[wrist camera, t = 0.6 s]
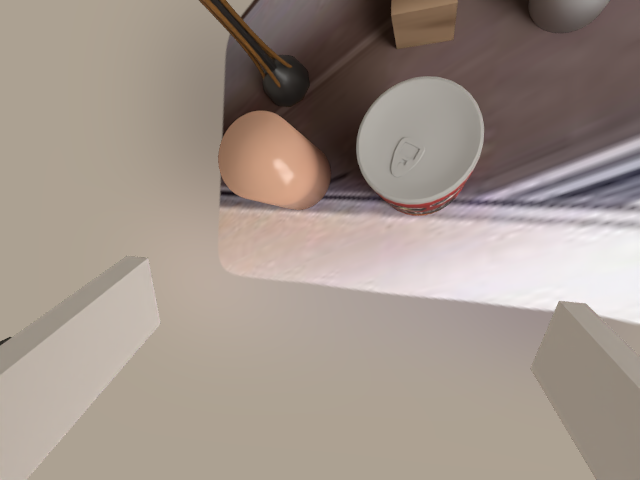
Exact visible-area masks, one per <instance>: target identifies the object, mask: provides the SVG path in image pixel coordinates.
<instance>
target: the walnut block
mask: <svg viewBox="0 0 640 480" xmlns="http://www.w3.org/2000/svg"><path fill="white" fill-rule="evenodd" d="M457 4H458V0H391V17H392V23H393V29H394V35H395V41H396V47H397V49H400V48H407V47H413V46H419V45H425V44H431V43H437V42H444V41H450V40H453V38H454V29H455V21H456V12H457Z"/></svg>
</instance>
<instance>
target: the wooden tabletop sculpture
mask: <svg viewBox="0 0 640 480" xmlns="http://www.w3.org/2000/svg"><path fill="white" fill-rule="evenodd" d="M199 1H200V2H201V3H202V4H203V5H204V6H205V7H206V8H207V9H208V10H209V11H210V12H211V13H212V14H213V16H214V17H215V18H216V19H217V20H218V21H219V22H220V23H221V24H222V25H223V26H224V27H225V28H226V29H227V31H229V33H230V34H231V35H232V36H233V37H234V38H235V39H236V41H237V42H238V43H239V44H240V45H241V47H242V48H243V49H244V50H245V51H246V53H247V54H248V55H249V57H250V58H251V59H252V61H253V62H254V63H255V65H256V66H257V68H258V70H259V71H260V73H261V75H262V80H263V88H264V91H265V93H266V94H267V95H268V96H269V97H270V98H271V99H272V100H273V101H274V102H275V103H276V104H277V105H278V106H286V107H291V106H293V105H295V104H296V103H298V102H299V101H301V100H302V99H303V98H304V96H305V94H306V92H307V90H308V88H309V86H310V85H309V77H308V71H307V70H306V68H305V67H304V66H303V65H302V64H301V63H300V62H299V61H298V60H297V59H295V58H294V57H293V56H289V55H277V54H276V53H275V52H273V51H272V50H271V49H270V48H269V47H268V46H267V45H266V44H265V43H264V42H263V41H262V40H261V39H260V38H259V37H258V36H257V35H256V34H255V33H254V32H253V31H252V30H251V29H250V28H249V26H248V25H247V24H246V23H245V22H244V21H243V20H242V18H241V17H240V16H239V15H238V14H237V13H236V12H235V10H234V9H233V8H232V7H231V6H230V5H229V4H228V2H227V1H226V0H199ZM256 59H257V60H258V61H259V63H260V64H261V65H262V66H263V68H264V70H262V68H261V66H260V64H259V63H258V61H257V60H256Z"/></svg>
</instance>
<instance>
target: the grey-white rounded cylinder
mask: <svg viewBox="0 0 640 480" xmlns="http://www.w3.org/2000/svg"><path fill="white" fill-rule="evenodd" d="M609 1H610V0H529V4H528V7H529V14H530V16H531V18H532V20H533V22H534V23H535V24H536V25H537V26H538V27H540V28H541V29H543V30H545V31H548V32H552V33H568V32H572V31H576V30H578V29H581V28H583V27H585V26H586V25H588V24H589V23H591V22H592V21H593V20H594V19H596V18H597V17H598V15H599V14H600V13H601V12H602V10H603V9H604V8H605V6H606V5H607V4H608V2H609Z"/></svg>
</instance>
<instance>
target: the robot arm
mask: <svg viewBox="0 0 640 480" xmlns="http://www.w3.org/2000/svg"><path fill="white" fill-rule="evenodd" d="M160 324H161V322H160V318H159V312H158V307H157V302H156V296H155V291H154V286H153V281H152V275H151V270H150V265H149V260H148V258H143V257H134V256H126V257H124V258H123V259H122V260H120V261H119V262H117V263H116V264H114V266H112V267H110V268H109V269H107V270H106V271H105V272H103V273H102V274H100V275H99V276H98V277H96V278H95V279H93V280H92V281H91V282H89V283H88V284H86V285H85V286H84V287H82V288H81V289H79V290H78V291H76V292H75V293H74V294H72V295H71V296H69V297H68V298H67V299H65V300H64V301H62V302H61V303H60V304H58V305H57V306H55V307H54V308H53V309H51V310H50V311H49V312H47V313H46V314H44V315H43V316H41V317H40V318H39V319H37V320H36V321H34V322H33V323H31V324H30V325H29V326H27V327H26V328H24V329H23V330H22V331H20V332H19V333H17V334H16V335H15V336H13V337H9V338H7V339H5V340H2V341H0V480H27V478H28V477H29V476H30V475H31V474H32V472H33V471H34V470H35V469H36V468H37V467H38V466H39V464H40V463H41V462H42V461H43V460H44V459H45V457H46V456H47V455H48V454H49V453H50V451H51V450H52V449H53V448H54V447H55V446H56V445H57V443H58V442H59V441H60V440H61V439H62V438H63V437H64V435H65V434H66V433H67V432H68V431H69V429H70V428H71V427H72V426H73V425H74V424H75V423H76V421H77V420H78V419H79V418H80V417H81V416H82V414H83V413H84V412H85V411H86V410H87V409H88V407H89V406H90V405H91V404H92V403H93V402H94V400H95V399H96V398H97V397H98V396H99V395H100V393H101V392H102V391H103V390H104V389H105V388H106V386H107V385H108V384H109V383H110V382H111V381H112V380H113V378H114V377H115V376H116V375H117V374H118V373H119V371H120V370H121V369H122V368H123V367H124V365H125V364H126V363H127V362H128V361H129V360H130V359H131V357H132V356H133V355H134V354H135V353H136V352H137V350H138V349H139V348H140V347H141V346H142V345H143V343H144V342H145V341H146V340H147V338H148V337H149V336H150V335H151V334H152V333H153V332H154V331H155V329H156V328H157V327H158V326H159V325H160ZM531 371H532V372H533V374H534V375H535V377H536V379H537V381H538V382H539V384H540V385H541V387H542V389H543V391H544V392H545V394H546V396H547V398H548V399H549V401H550V403H551V404H552V406H553V408H554V409H555V411H556V413H557V414H558V416H559V418H560V419H561V421H562V423H563V425H564V426H565V428H566V430H567V431H568V433H569V435H570V436H571V438H572V440H573V441H574V443H575V445H576V446H577V448H578V450H579V452H580V453H581V455H582V457H583V458H584V460H585V462H586V463H587V465H588V467H589V468H590V470H591V472H592V473H593V475H594V477H595V479H596V480H640V356H639V355H638V354H637V353H636V352H635V351H634V350H633V349H632V348H631V347H630V346H629V345H628V344H627V343H626V342H625V341H624V340H623V339H622V338H620V336H619V335H618V334H617V333H616V332H615V331H613V330H612V329H611V328H610V327H609V326H608V325H607V324H606V323H605V322H604V321H603V320H602V319H601V318H600V317H599V316H598V315H597V314H596V313H595V312H594V311H593V310H592V309H591V308H590V307H589V306H588V305H587V304H584V303H574V302H565V301H559V302H558V305H557V307H556V309H555V312H554V314H553V316H552V319H551V321H550V324H549V326H548V328H547V331H546V333H545V335H544V338H543V340H542V342H541V345H540V347H539V350H538V352H537V354H536V356H535V359H534V361H533V364H532V366H531Z"/></svg>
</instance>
